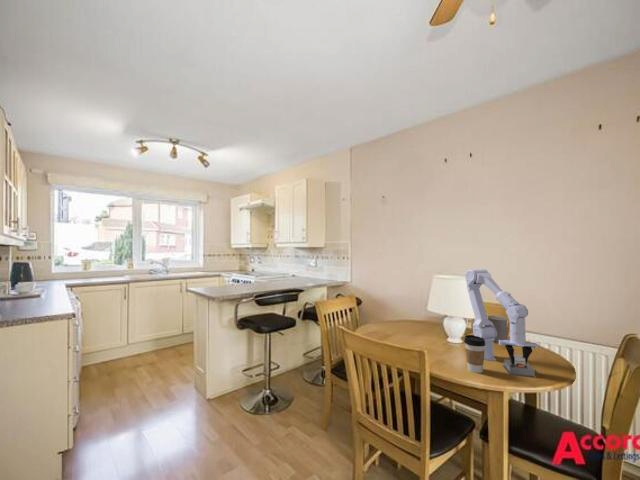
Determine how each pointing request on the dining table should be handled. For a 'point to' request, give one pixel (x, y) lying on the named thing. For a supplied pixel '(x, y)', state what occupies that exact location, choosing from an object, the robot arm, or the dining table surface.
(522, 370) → the stand base
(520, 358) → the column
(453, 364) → the dining table surface
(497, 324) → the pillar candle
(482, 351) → the coffee cup
